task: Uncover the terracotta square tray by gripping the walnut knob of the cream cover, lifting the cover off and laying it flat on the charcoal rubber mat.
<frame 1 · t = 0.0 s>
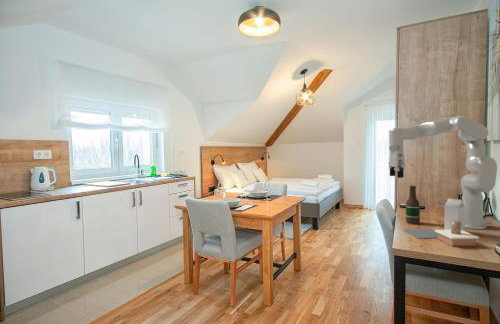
hand: (396, 176, 168), 31 cm above the table, fingers open, 9 cm apart
cover: (455, 234, 140), point 4 cm above the table, touching terracotta square tray
terracotta square tray: (455, 242, 141), on the table
beer bottle: (412, 223, 179), on the table
mat: (424, 233, 156), on the table
milk carton: (454, 232, 157), on the table
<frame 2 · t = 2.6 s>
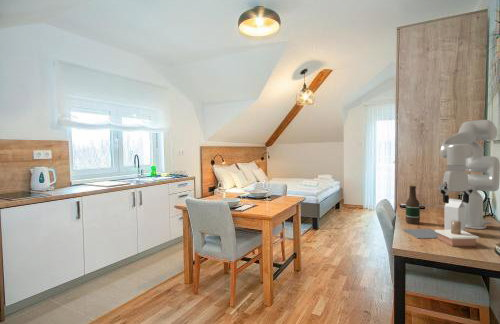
hand: (455, 202, 140), 20 cm above the table, fingers open, 9 cm apart
nothing on the table moved.
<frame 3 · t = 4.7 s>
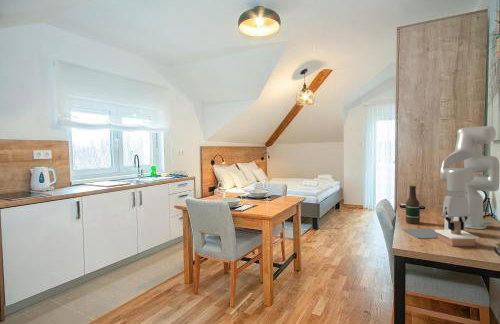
hand: (455, 229, 140), 7 cm above the table, fingers closed on cover, 4 cm apart
cover: (455, 234, 140), point 4 cm above the table, touching terracotta square tray, gripper
everything else where it was.
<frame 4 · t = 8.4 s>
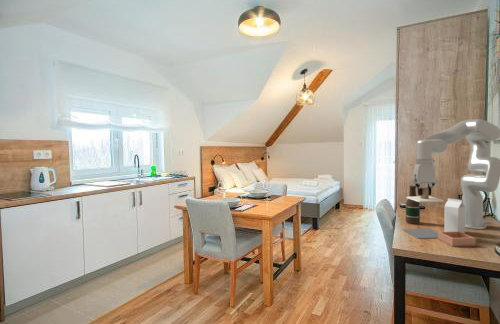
hand: (424, 194, 155), 22 cm above the table, fingers closed on cover, 4 cm apart
cover: (424, 199, 155), point 19 cm above the table, touching gripper
everything else where it was.
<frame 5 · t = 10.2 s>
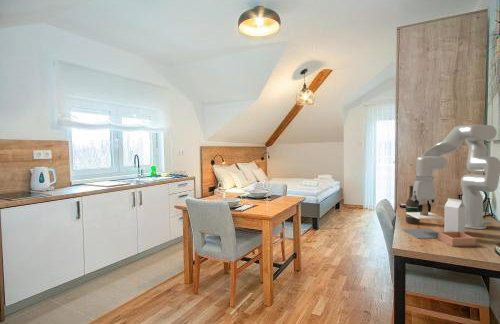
hand: (423, 211, 155), 13 cm above the table, fingers closed on cover, 4 cm apart
cover: (423, 216, 155), point 10 cm above the table, touching gripper
everything else where it was.
when the fingers open (5 cm above the table, at t = 12.0 s): cover drops 2 cm, resting on mat.
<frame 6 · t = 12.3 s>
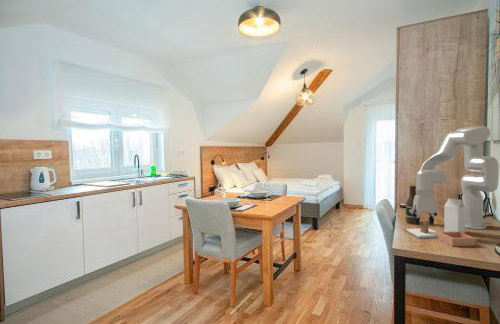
hand: (424, 224, 156), 5 cm above the table, fingers open, 7 cm apart
cover: (424, 233, 156), resting on mat
everything else where it was.
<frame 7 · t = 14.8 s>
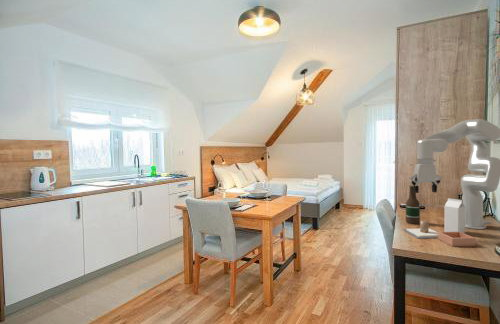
hand: (425, 192, 155), 23 cm above the table, fingers open, 9 cm apart
nothing on the table moved.
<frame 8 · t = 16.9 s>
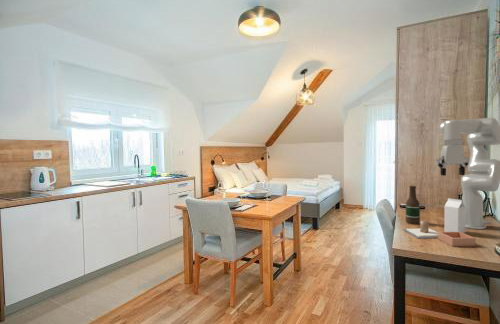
hand: (452, 175, 149), 33 cm above the table, fingers open, 9 cm apart
nothing on the table moved.
at the end: cover inside the target area on the mat (0.0 cm from its centre), point 0.4 cm above the mat's base; cover tilted 0°; the gripper is holding nothing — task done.
